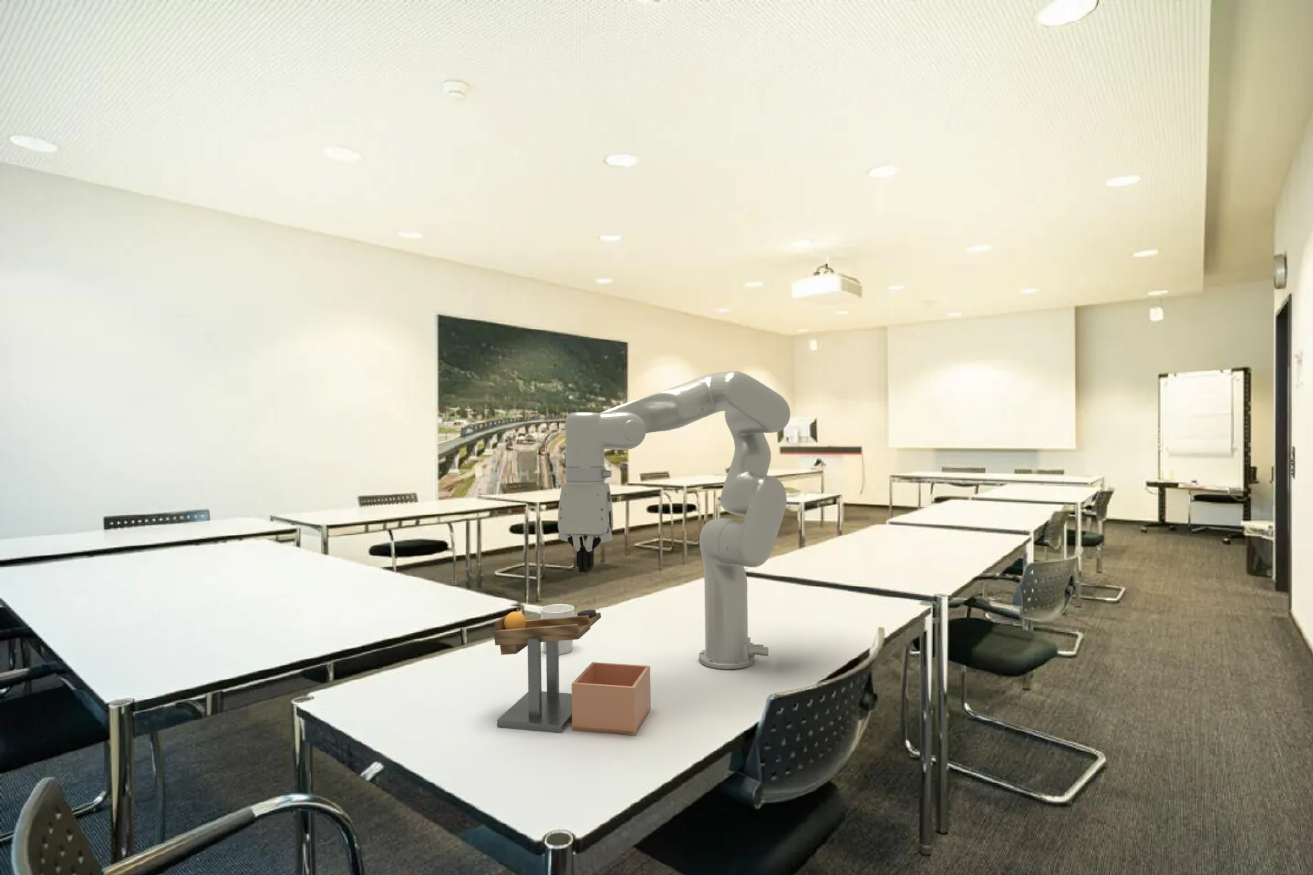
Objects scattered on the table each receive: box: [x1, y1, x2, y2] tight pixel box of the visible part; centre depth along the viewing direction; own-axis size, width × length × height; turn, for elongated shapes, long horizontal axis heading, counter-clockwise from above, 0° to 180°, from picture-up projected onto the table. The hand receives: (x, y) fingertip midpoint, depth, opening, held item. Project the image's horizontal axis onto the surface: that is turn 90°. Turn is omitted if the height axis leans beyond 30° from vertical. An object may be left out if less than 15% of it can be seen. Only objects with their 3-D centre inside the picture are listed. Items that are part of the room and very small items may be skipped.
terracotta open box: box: [571, 661, 652, 736], centre depth 122 cm, size 11×11×8 cm
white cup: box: [540, 603, 575, 655], centre depth 162 cm, size 8×8×10 cm
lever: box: [493, 609, 602, 656], centre depth 129 cm, size 16×15×6 cm
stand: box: [496, 637, 572, 733], centre depth 125 cm, size 12×14×15 cm
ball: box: [504, 611, 527, 630], centre depth 126 cm, size 4×4×4 cm
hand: (585, 570), depth 132 cm, fingers closed
